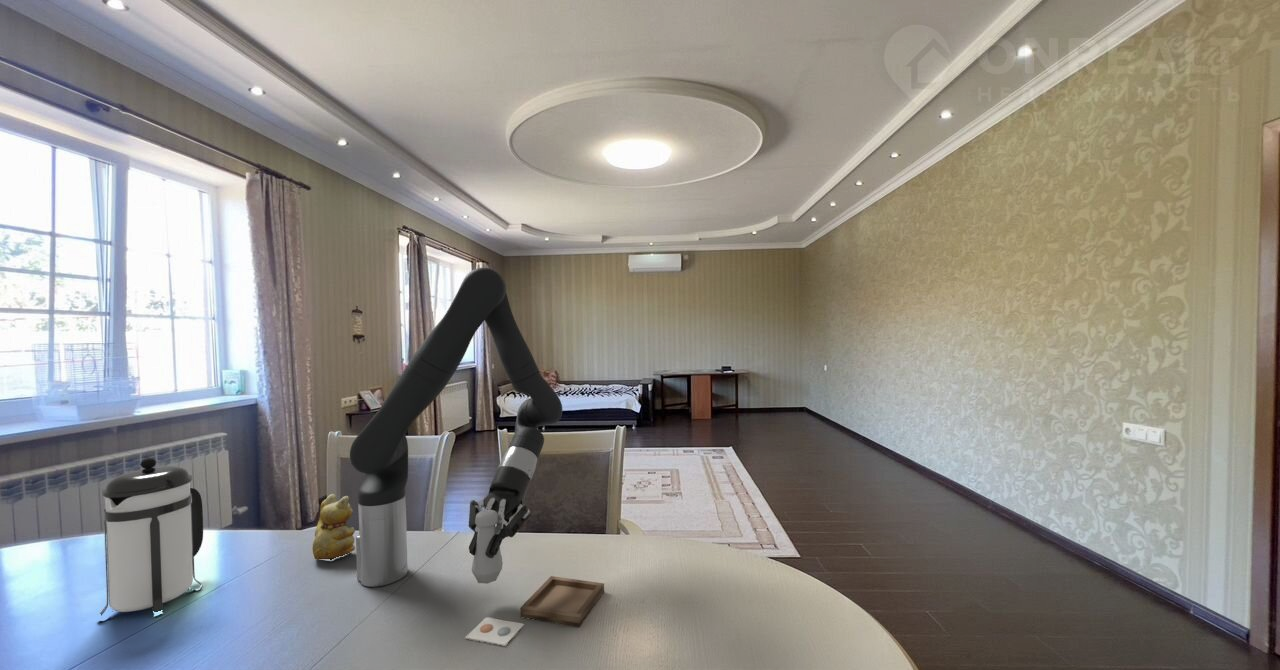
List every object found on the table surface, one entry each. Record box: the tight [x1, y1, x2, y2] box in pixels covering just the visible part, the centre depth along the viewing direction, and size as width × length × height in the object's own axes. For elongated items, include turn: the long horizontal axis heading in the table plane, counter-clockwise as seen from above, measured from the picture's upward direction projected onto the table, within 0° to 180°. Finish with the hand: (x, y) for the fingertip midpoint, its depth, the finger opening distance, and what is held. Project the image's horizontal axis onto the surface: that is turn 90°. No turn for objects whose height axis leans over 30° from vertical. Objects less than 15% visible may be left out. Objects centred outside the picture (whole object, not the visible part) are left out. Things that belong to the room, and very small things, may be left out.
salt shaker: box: [471, 509, 504, 585], centre depth 93 cm, size 6×6×13 cm
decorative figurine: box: [312, 493, 356, 561], centre depth 116 cm, size 10×8×15 cm
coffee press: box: [99, 457, 204, 616], centre depth 99 cm, size 17×16×30 cm
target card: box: [464, 617, 525, 647], centre depth 85 cm, size 8×6×1 cm
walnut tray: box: [519, 575, 605, 628], centre depth 93 cm, size 12×12×2 cm
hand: (481, 554), depth 91 cm, fingers closed on salt shaker, 3 cm apart
